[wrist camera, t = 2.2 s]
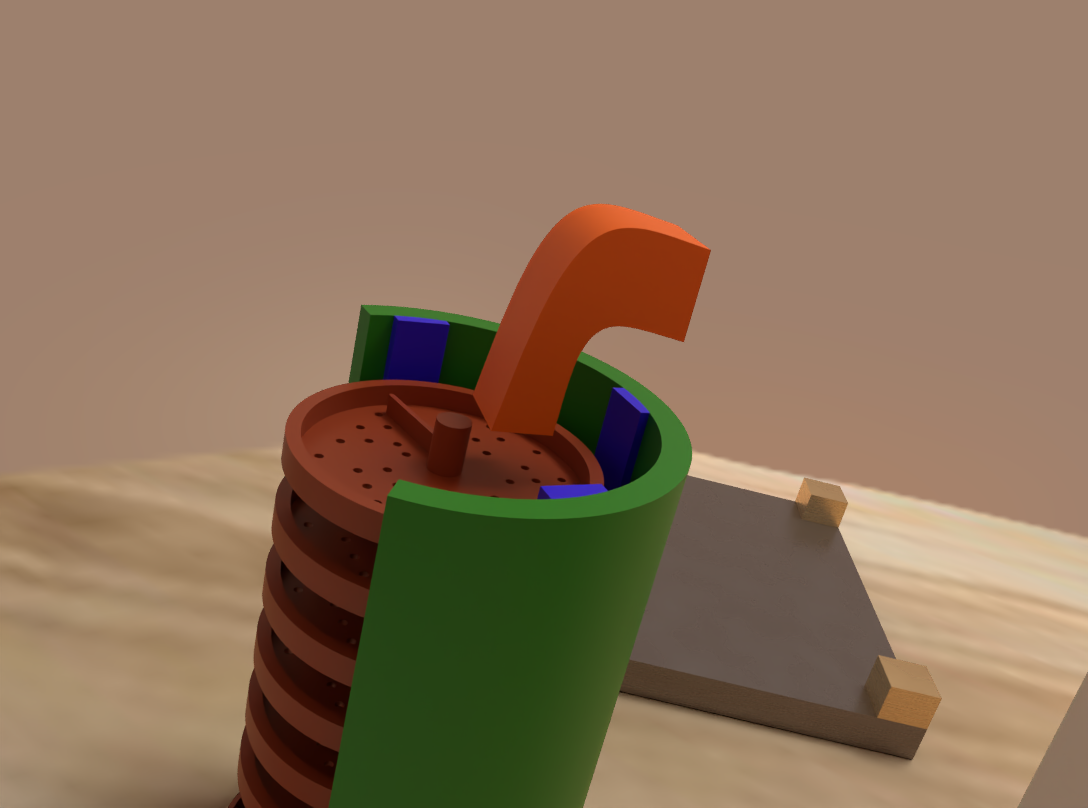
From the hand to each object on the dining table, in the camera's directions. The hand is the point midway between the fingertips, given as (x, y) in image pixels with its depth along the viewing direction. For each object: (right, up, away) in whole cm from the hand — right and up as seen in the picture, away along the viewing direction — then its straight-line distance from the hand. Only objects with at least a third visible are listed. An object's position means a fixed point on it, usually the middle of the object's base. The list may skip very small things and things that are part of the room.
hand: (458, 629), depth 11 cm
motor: (-4, -12, +17) cm, 21 cm away
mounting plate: (+7, -6, +37) cm, 38 cm away
